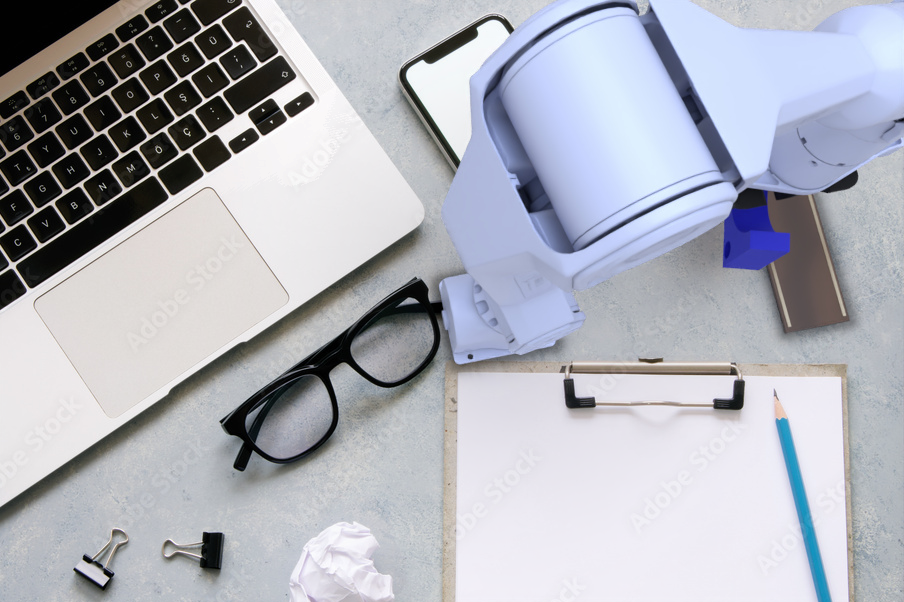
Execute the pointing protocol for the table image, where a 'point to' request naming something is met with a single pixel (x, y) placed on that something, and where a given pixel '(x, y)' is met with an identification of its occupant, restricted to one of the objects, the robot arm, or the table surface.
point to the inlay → (804, 267)
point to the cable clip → (752, 239)
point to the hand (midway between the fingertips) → (748, 193)
